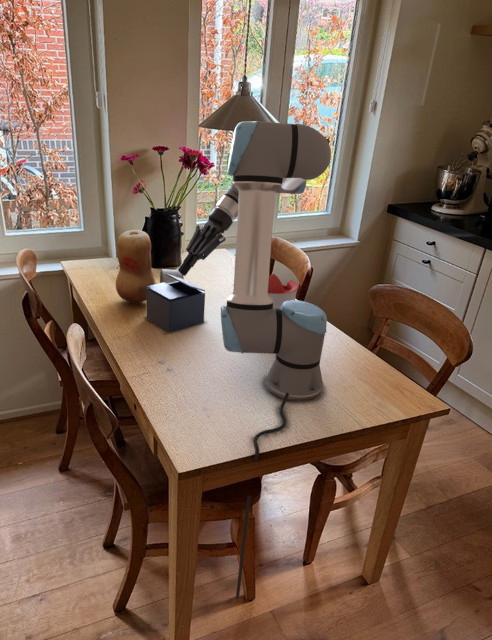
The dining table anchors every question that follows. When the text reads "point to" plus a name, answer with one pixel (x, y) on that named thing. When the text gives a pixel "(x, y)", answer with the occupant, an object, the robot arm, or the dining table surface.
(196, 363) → the dining table surface
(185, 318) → the carton
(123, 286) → the butternut squash
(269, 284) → the citrus juicer
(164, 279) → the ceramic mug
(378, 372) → the dining table surface
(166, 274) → the flap
